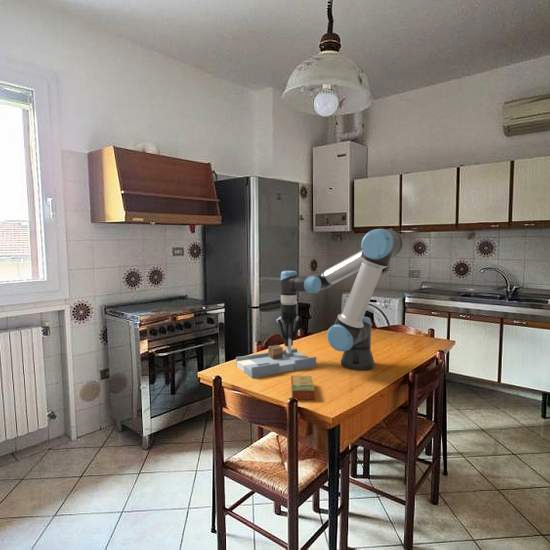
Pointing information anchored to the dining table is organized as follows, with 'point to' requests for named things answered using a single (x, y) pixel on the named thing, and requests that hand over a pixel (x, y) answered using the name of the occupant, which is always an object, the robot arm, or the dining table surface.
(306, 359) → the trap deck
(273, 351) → the block
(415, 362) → the dining table surface
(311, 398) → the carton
